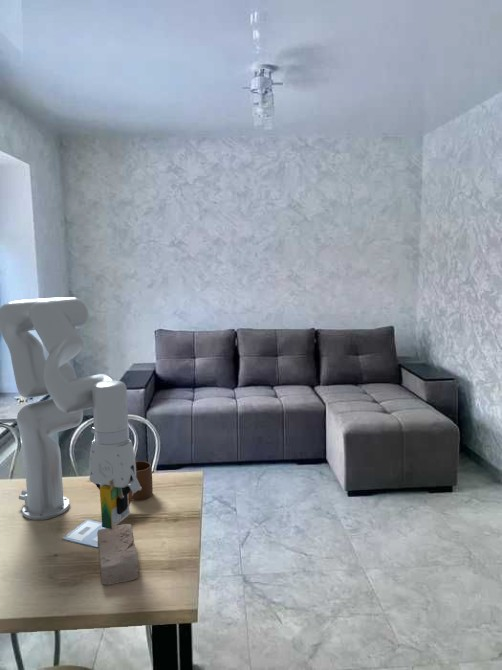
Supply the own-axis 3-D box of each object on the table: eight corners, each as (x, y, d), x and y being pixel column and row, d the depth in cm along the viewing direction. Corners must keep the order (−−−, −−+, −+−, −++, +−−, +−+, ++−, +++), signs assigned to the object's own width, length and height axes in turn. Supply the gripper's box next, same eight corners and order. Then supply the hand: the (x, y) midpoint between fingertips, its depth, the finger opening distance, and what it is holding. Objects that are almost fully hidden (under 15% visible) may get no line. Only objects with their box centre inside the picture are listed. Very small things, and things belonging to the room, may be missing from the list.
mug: (121, 486, 159) (120, 458, 158) (145, 481, 162) (144, 454, 161) (130, 503, 149) (128, 473, 147) (155, 498, 152) (154, 468, 150)
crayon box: (119, 512, 123) (117, 466, 121) (130, 514, 122) (128, 468, 120) (101, 527, 116) (98, 479, 114) (112, 529, 115) (110, 481, 113)
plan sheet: (62, 539, 130) (62, 538, 130) (87, 520, 139) (87, 519, 139) (108, 550, 125) (108, 549, 125) (131, 529, 135) (131, 528, 134)
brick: (140, 578, 114) (139, 560, 114) (101, 586, 112) (100, 567, 111) (131, 539, 130) (131, 522, 129) (97, 545, 127) (96, 528, 126)
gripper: (71, 436, 115) (76, 511, 118) (133, 445, 109) (136, 524, 112) (92, 425, 122) (96, 497, 125) (151, 433, 116) (154, 508, 119)
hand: (115, 509), depth 119 cm, fingers closed on crayon box, 3 cm apart
